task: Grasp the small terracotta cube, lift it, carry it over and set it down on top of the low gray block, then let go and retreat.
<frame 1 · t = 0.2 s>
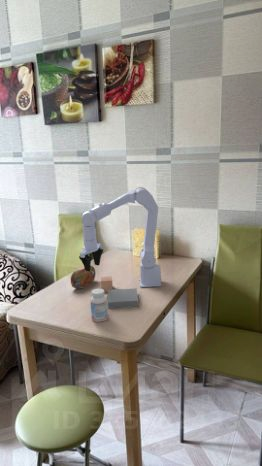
hand: (92, 267, 159), 10 cm above the table, tool pointing down, fingers open, 7 cm apart
terracotta cube: (107, 289, 160), on the table
pill bottle: (99, 318, 134), on the table
tin: (83, 285, 165), on the table
gray block: (123, 301, 148), on the table
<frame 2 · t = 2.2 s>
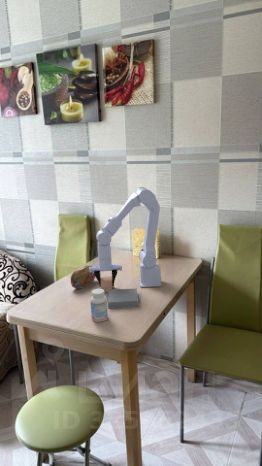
hand: (106, 285, 159), 1 cm above the table, tool pointing down, fingers closed on terracotta cube, 5 cm apart
terracotta cube: (107, 288, 160), on the table, touching gripper
everything else where it was.
when the fingers open (5 cm above the table, at t = 6.1 s): terracotta cube drops 1 cm, point 2 cm above the table.
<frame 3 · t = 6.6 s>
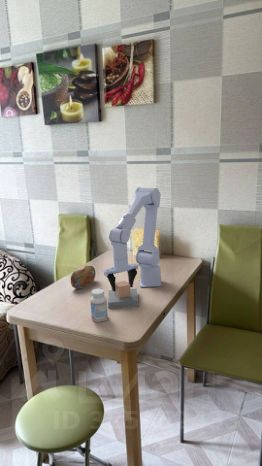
hand: (122, 288, 146), 5 cm above the table, tool pointing down, fingers open, 7 cm apart
terracotta cube: (122, 294, 147), point 2 cm above the table
everything else where it was.
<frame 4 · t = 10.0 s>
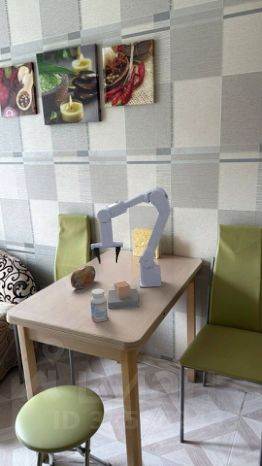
hand: (108, 262, 164), 10 cm above the table, tool pointing down, fingers open, 7 cm apart
nothing on the table moved.
at the end: terracotta cube inside the target area on the gray block (0.1 cm from its centre), point 3.0 cm above the gray block's base; terracotta cube tilted 0°; the gripper is holding nothing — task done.
